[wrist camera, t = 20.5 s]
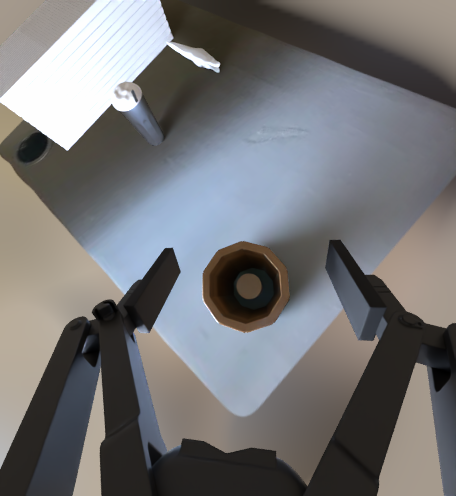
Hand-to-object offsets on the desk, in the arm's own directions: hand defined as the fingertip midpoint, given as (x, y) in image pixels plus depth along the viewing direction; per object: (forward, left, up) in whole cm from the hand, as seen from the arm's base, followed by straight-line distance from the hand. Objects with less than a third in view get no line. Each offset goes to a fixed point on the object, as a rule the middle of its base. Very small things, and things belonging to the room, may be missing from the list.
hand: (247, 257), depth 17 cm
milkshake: (+28, -10, -11) cm, 32 cm away
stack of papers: (+48, -16, -11) cm, 52 cm away
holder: (-1, +2, -11) cm, 11 cm away
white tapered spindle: (+33, -28, -11) cm, 45 cm away
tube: (-1, +2, -10) cm, 10 cm away
